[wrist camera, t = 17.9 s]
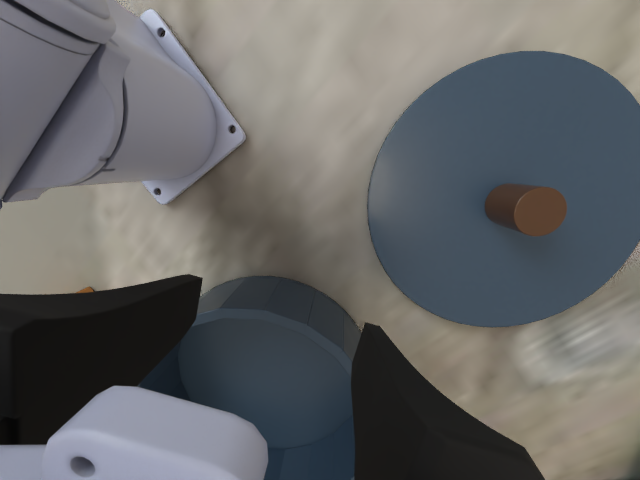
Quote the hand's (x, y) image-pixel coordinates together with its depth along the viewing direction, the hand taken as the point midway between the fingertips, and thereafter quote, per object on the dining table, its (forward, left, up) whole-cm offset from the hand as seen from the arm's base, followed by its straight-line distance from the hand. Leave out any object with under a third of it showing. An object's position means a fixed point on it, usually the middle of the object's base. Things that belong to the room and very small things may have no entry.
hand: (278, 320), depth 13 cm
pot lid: (+4, +13, -9) cm, 16 cm away
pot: (+6, -8, -9) cm, 14 cm away
